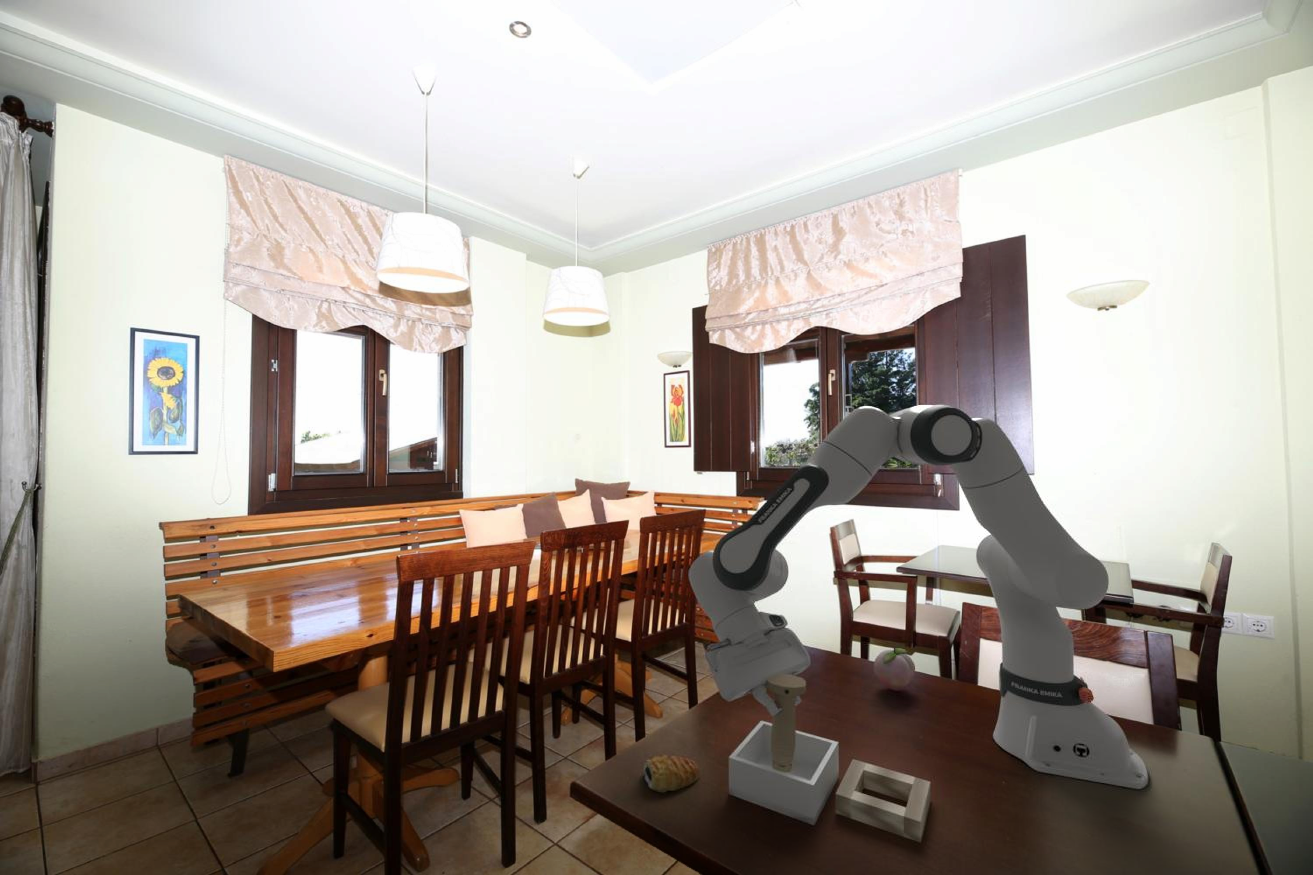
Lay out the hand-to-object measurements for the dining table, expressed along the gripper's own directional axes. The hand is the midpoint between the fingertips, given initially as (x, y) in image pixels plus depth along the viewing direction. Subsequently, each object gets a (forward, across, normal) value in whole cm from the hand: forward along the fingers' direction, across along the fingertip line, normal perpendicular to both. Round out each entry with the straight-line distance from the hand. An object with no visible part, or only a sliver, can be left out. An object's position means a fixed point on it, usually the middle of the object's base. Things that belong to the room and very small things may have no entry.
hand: (787, 708), depth 93 cm
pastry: (0, -14, +20) cm, 24 cm away
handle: (+7, 0, +8) cm, 11 cm away
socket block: (+18, +8, 0) cm, 20 cm away
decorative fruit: (+4, +47, +15) cm, 50 cm away
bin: (+9, 0, +10) cm, 13 cm away
